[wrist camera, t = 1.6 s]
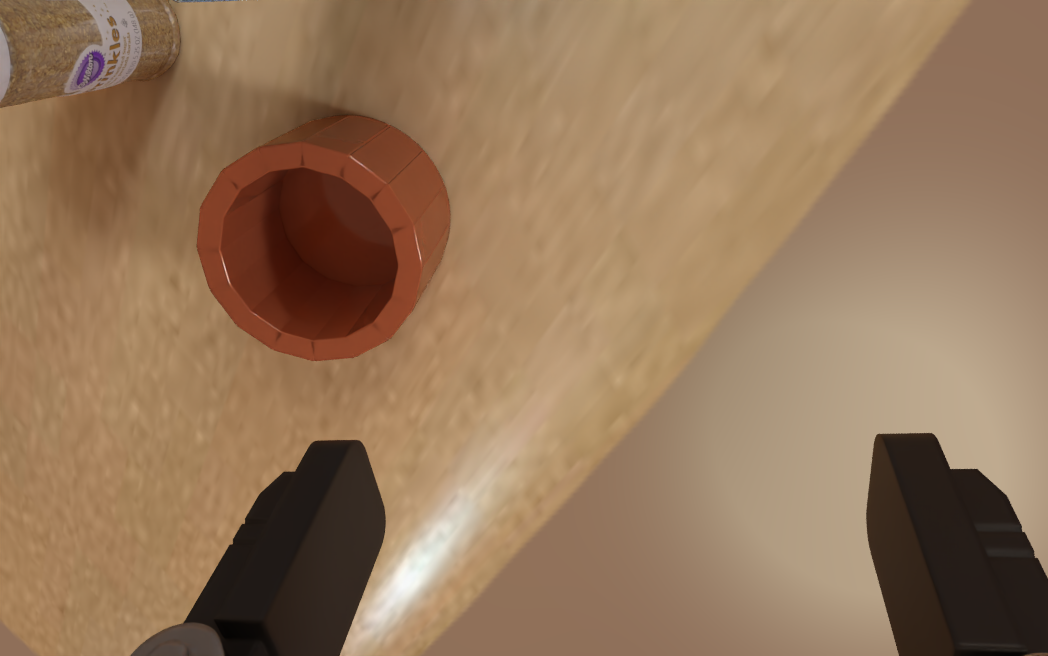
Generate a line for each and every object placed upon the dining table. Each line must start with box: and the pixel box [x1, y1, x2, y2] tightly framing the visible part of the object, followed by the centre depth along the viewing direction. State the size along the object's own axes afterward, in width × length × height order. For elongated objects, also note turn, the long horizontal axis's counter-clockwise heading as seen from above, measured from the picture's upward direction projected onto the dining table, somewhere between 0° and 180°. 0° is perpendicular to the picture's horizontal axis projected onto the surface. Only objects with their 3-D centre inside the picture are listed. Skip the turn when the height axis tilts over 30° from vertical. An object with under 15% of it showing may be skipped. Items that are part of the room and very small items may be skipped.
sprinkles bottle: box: [0, 0, 180, 108], centre depth 30 cm, size 5×5×13 cm
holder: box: [197, 115, 450, 361], centre depth 35 cm, size 9×9×7 cm
